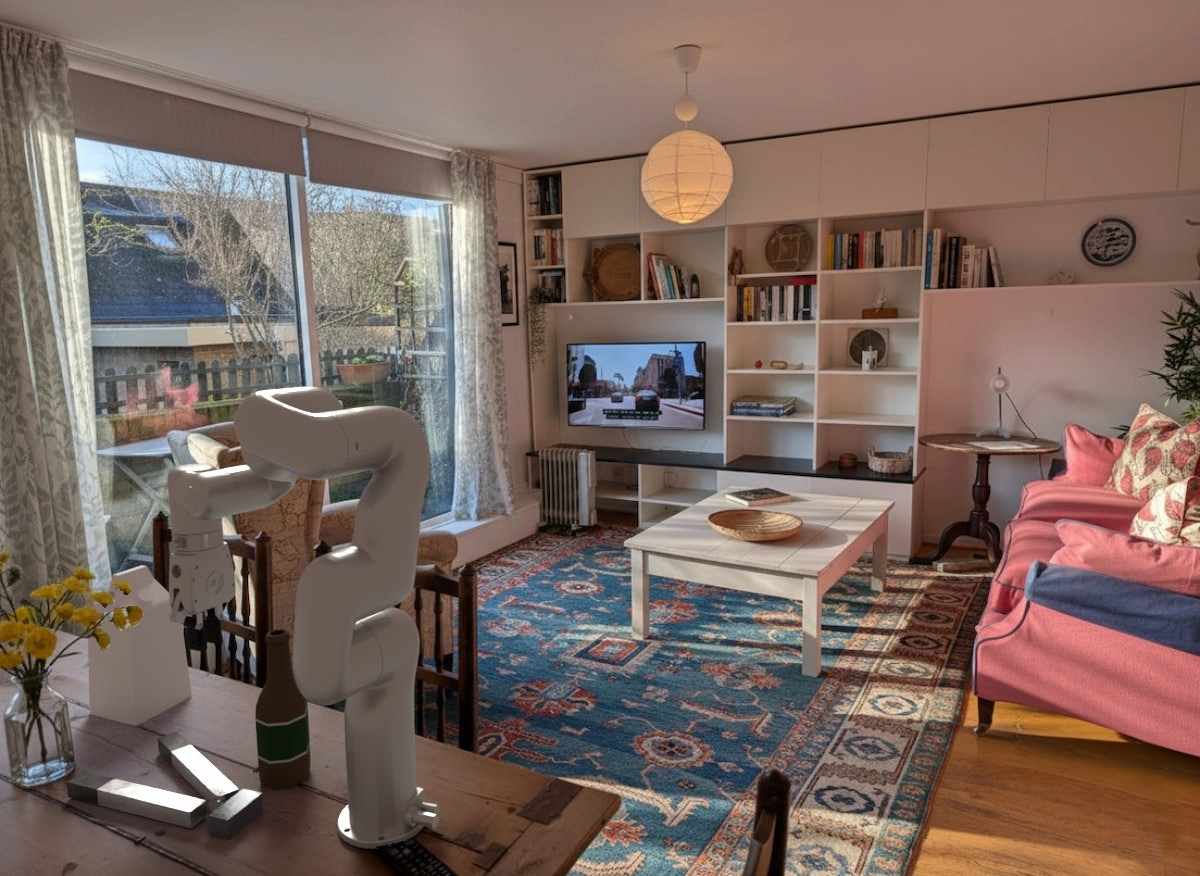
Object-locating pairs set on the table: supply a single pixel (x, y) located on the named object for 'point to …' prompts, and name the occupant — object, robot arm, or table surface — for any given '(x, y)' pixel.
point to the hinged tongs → (167, 803)
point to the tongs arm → (197, 770)
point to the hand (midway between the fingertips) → (205, 645)
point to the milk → (138, 656)
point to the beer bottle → (281, 720)
